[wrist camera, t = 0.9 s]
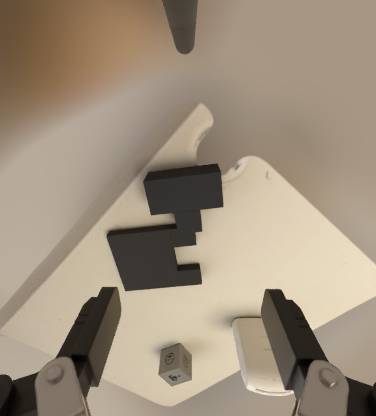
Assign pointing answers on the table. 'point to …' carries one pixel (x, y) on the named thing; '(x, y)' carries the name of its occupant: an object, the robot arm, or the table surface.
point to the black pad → (152, 257)
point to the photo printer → (257, 358)
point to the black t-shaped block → (184, 194)
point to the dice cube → (175, 365)
